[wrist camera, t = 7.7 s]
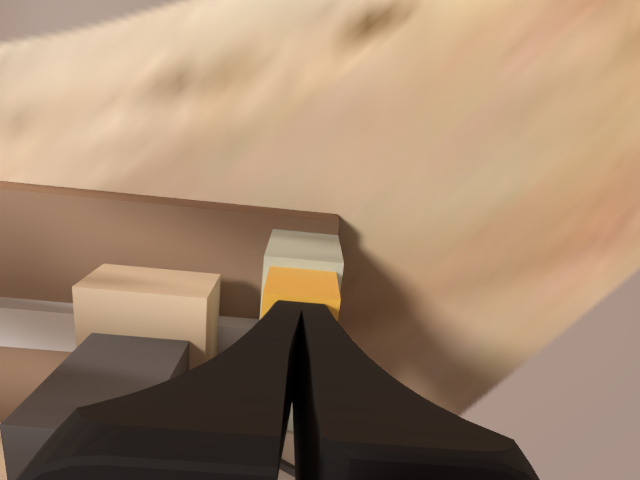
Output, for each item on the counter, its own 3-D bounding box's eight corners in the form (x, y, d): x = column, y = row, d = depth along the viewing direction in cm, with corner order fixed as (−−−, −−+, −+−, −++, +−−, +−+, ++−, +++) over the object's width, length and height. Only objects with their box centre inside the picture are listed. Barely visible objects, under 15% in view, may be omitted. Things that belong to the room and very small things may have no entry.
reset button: (327, 342, 13) (330, 380, 11) (264, 336, 13) (256, 374, 11) (336, 271, 13) (340, 300, 11) (270, 266, 13) (262, 293, 11)
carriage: (215, 417, 16) (162, 581, 11) (110, 409, 16) (-1, 572, 10) (220, 274, 15) (162, 378, 9) (103, 263, 14) (-34, 363, 9)
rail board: (312, 424, 19) (312, 519, 15) (-144, 391, 18) (-291, 481, 14) (337, 214, 16) (347, 252, 12) (-201, 161, 16) (-410, 181, 11)
